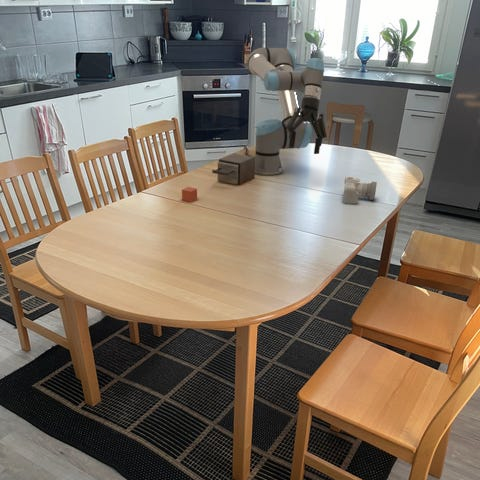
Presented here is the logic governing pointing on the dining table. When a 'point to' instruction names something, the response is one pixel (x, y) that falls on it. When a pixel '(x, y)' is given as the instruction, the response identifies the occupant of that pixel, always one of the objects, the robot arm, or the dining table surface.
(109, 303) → the dining table surface
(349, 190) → the digital camera
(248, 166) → the cabinet
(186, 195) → the block
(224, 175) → the grey drawer
